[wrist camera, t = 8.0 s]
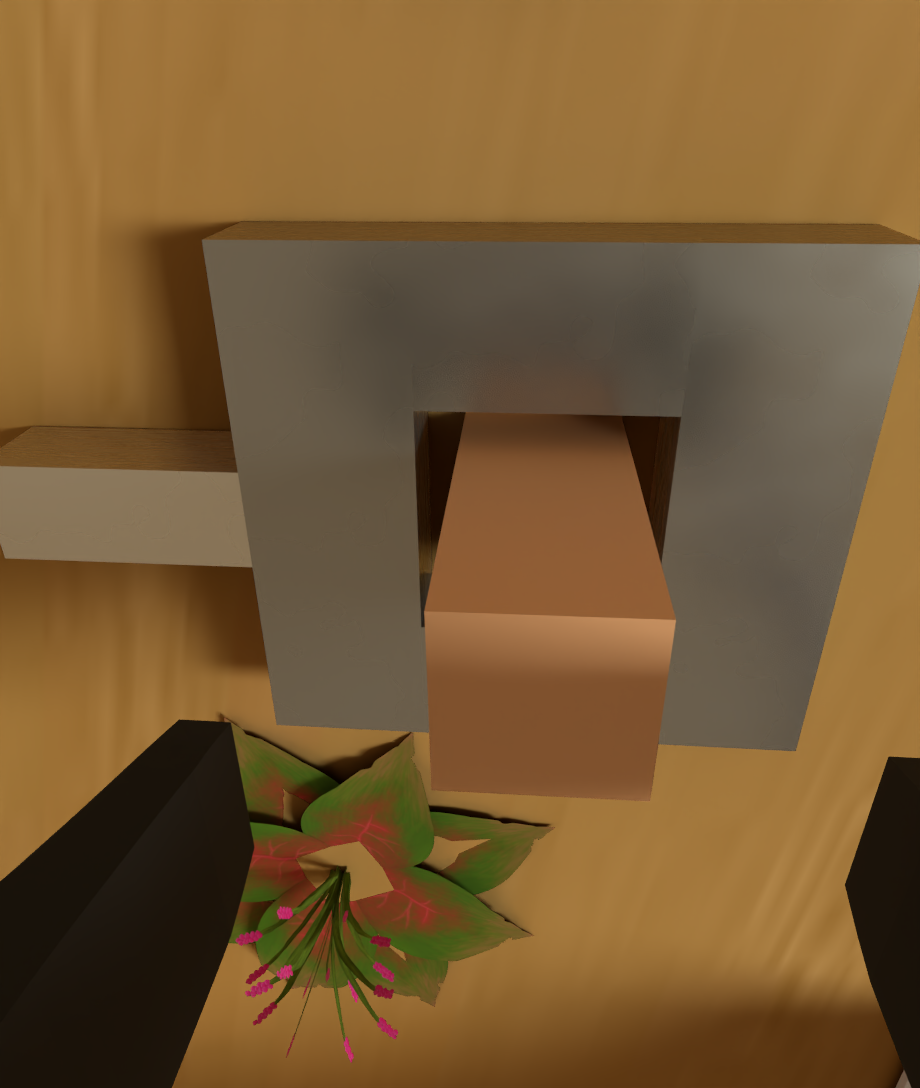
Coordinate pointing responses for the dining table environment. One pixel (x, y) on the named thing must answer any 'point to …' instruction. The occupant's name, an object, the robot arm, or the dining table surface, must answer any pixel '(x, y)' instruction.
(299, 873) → the lily flower
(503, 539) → the tan square peg
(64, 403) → the dining table surface
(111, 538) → the gray square-hole plate
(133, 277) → the dining table surface
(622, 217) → the dining table surface
